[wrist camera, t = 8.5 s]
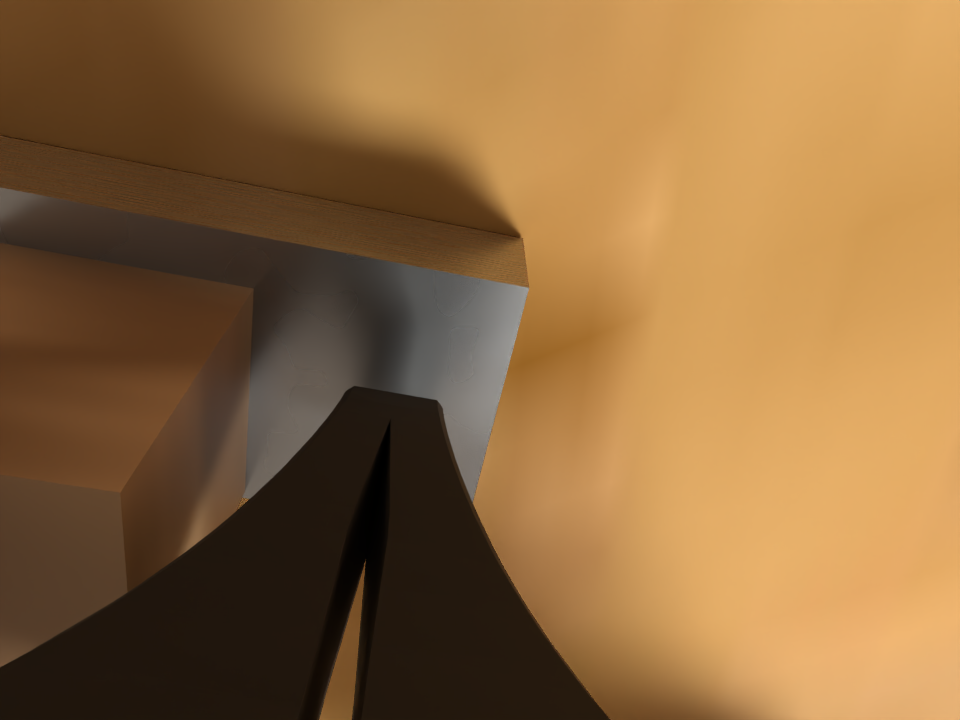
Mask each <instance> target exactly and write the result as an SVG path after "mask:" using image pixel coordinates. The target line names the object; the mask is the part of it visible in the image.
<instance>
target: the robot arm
mask: <svg viewBox="0 0 960 720" xmlns="http://www.w3.org/2000/svg"><path fill="white" fill-rule="evenodd" d="M365 560H366V565H365V576H364V588H363V600H362V612H361V624H360V636H359V648H358V660H357V672H356V684H355V696H354V706H353V714H352V720H610V719H609V718H608V716H607V715H606V714H605V713H604V712H603V710H602V709H601V708H600V707H599V706H598V705H597V703H596V702H595V701H594V699H593V698H592V697H591V695H590V694H589V693H588V691H587V690H586V689H585V687H584V686H583V685H582V683H581V682H580V681H579V679H578V678H577V677H576V675H575V674H574V673H573V671H572V670H571V669H570V667H569V666H568V665H567V663H566V662H565V661H564V659H563V658H562V657H561V655H560V654H559V653H558V651H557V650H556V649H555V647H554V646H553V645H552V643H551V642H550V641H549V639H548V638H547V636H546V635H545V633H544V632H543V630H542V629H541V627H540V626H539V624H538V623H537V621H536V620H535V618H534V617H533V615H532V613H531V612H530V610H529V609H528V607H527V606H526V604H525V603H524V601H523V599H522V598H521V596H520V594H519V593H518V591H517V589H516V588H515V586H514V584H513V583H512V581H511V579H510V577H509V576H508V574H507V572H506V570H505V569H504V567H503V565H502V563H501V561H500V559H499V557H498V555H497V554H496V552H495V550H494V548H493V546H492V544H491V542H490V540H489V538H488V536H487V534H486V531H485V529H484V527H483V525H482V523H481V521H480V519H479V517H478V514H477V512H476V510H475V508H474V505H473V503H472V500H471V498H470V495H469V493H468V490H467V488H466V485H465V483H464V480H463V478H462V475H461V473H460V470H459V467H458V464H457V462H456V459H455V456H454V452H453V449H452V446H451V443H450V439H449V436H448V432H447V428H446V424H445V419H444V413H443V408H442V406H441V405H440V403H439V402H438V401H437V400H434V399H428V398H422V397H416V396H411V395H405V394H399V393H394V392H388V391H382V390H376V389H371V388H365V387H359V386H353V387H351V388H350V389H348V390H346V391H345V393H344V395H343V396H342V398H341V400H340V401H339V402H338V404H337V405H336V407H335V408H334V409H333V411H332V412H331V413H330V415H329V416H328V417H327V419H326V420H325V421H324V422H323V423H322V425H321V426H320V427H319V428H318V429H317V431H316V432H315V433H314V434H313V435H312V437H311V438H310V439H309V440H308V441H307V442H306V443H305V444H304V445H303V446H302V447H301V449H300V450H299V451H298V452H297V453H296V454H295V455H294V456H293V457H292V458H291V459H290V460H289V462H288V463H287V464H286V465H285V466H284V467H283V468H282V469H281V470H280V471H279V472H278V473H277V474H276V475H275V476H274V477H273V478H272V479H270V480H269V481H268V482H267V483H266V484H265V485H264V486H263V487H262V488H261V489H260V490H259V491H258V492H257V493H256V494H255V495H253V496H252V497H251V498H250V499H249V500H248V501H247V502H246V503H245V504H244V505H243V506H242V507H240V508H239V509H238V510H237V511H236V512H235V513H233V514H232V515H231V516H230V517H229V518H228V519H226V520H225V521H224V522H223V523H222V524H220V525H219V526H218V527H217V528H216V529H214V530H213V531H212V532H211V533H209V534H208V535H207V536H205V537H204V538H203V539H202V540H200V541H199V542H198V543H196V544H195V545H194V546H193V547H191V548H190V549H189V550H187V551H186V552H185V553H183V554H182V555H181V556H179V557H178V558H176V559H175V560H174V561H172V562H171V563H169V564H168V565H166V566H165V567H164V568H162V569H161V570H159V571H158V572H157V573H155V574H154V575H152V576H151V577H149V578H148V579H147V580H145V581H144V582H142V583H141V584H139V585H138V586H136V587H135V588H133V589H132V590H130V591H129V592H127V593H126V594H124V595H123V596H121V597H120V598H118V599H116V600H115V601H113V602H112V603H110V604H109V605H107V606H105V607H104V608H102V609H100V610H99V611H97V612H95V613H93V614H92V615H90V616H88V617H87V618H85V619H83V620H82V621H80V622H78V623H77V624H75V625H73V626H71V627H70V628H68V629H66V630H65V631H63V632H61V633H60V634H58V635H56V636H54V637H53V638H51V639H49V640H48V641H46V642H44V643H43V644H41V645H39V646H37V647H36V648H34V649H32V650H31V651H29V652H27V653H25V654H23V655H22V656H20V657H18V658H16V659H14V660H12V661H10V662H9V663H7V664H5V665H3V666H1V667H0V720H319V718H320V714H321V711H322V707H323V703H324V699H325V695H326V692H327V688H328V685H329V682H330V678H331V675H332V672H333V668H334V665H335V661H336V658H337V655H338V651H339V648H340V645H341V641H342V638H343V635H344V631H345V628H346V624H347V621H348V618H349V614H350V611H351V608H352V604H353V601H354V597H355V594H356V591H357V587H358V584H359V580H360V577H361V574H362V570H363V567H364V563H365Z"/></svg>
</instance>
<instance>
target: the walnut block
mask: <svg viewBox="0 0 960 720" xmlns="http://www.w3.org/2000/svg"><path fill="white" fill-rule="evenodd" d="M253 292H254V289H253V288H248V287H242V286H237V285H231V284H226V283H220V282H215V281H209V280H203V279H198V278H192V277H187V276H181V275H176V274H170V273H165V272H159V271H154V270H148V269H143V268H137V267H131V266H126V265H120V264H115V263H109V262H104V261H98V260H93V259H87V258H82V257H76V256H71V255H65V254H59V253H54V252H48V251H43V250H37V249H32V248H26V247H21V246H15V245H10V244H4V243H0V667H1V666H3V665H5V664H7V663H9V662H10V661H12V660H14V659H16V658H18V657H20V656H22V655H23V654H25V653H27V652H29V651H31V650H32V649H34V648H36V647H37V646H39V645H41V644H43V643H44V642H46V641H48V640H49V639H51V638H53V637H54V636H56V635H58V634H60V633H61V632H63V631H65V630H66V629H68V628H70V627H71V626H73V625H75V624H77V623H78V622H80V621H82V620H83V619H85V618H87V617H88V616H90V615H92V614H93V613H95V612H97V611H99V610H100V609H102V608H104V607H105V606H107V605H109V604H110V603H112V602H113V601H115V600H116V599H118V598H120V597H121V596H123V595H124V594H126V593H127V592H129V591H130V590H132V589H133V588H135V587H136V586H138V585H139V584H141V583H142V582H144V581H145V580H147V579H148V578H149V577H151V576H152V575H154V574H155V573H157V572H158V571H159V570H161V569H162V568H164V567H165V566H166V565H168V564H169V563H171V562H172V561H174V560H175V559H176V558H178V557H179V556H181V555H182V554H183V553H185V552H186V551H187V550H189V549H190V548H191V547H193V546H194V545H195V544H196V543H198V542H199V541H200V540H202V539H203V538H204V537H205V536H207V535H208V534H209V533H211V532H212V531H213V530H214V529H216V528H217V527H218V526H219V525H220V524H222V523H223V522H224V521H225V520H226V519H228V518H229V517H230V516H231V515H232V514H233V513H235V512H236V511H237V508H238V506H239V504H240V501H241V499H242V497H243V494H244V492H245V477H246V454H247V431H248V408H249V384H250V361H251V338H252V315H253Z"/></svg>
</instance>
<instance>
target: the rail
mask: <svg viewBox="0 0 960 720" xmlns="http://www.w3.org/2000/svg"><path fill="white" fill-rule="evenodd" d="M0 243H4V244H10V245H15V246H21V247H26V248H32V249H37V250H43V251H48V252H54V253H59V254H65V255H71V256H76V257H82V258H87V259H93V260H98V261H104V262H109V263H115V264H120V265H126V266H131V267H137V268H143V269H148V270H154V271H159V272H165V273H170V274H176V275H181V276H187V277H192V278H198V279H203V280H209V281H215V282H220V283H226V284H231V285H237V286H242V287H248V288H253V289H254V292H253V315H252V338H251V361H250V384H249V408H248V431H247V454H246V477H245V492H244V494H243V497H242V498H248V499H250V498H251V497H252V496H253V495H255V494H256V493H257V492H258V491H259V490H260V489H261V488H262V487H263V486H264V485H265V484H266V483H267V482H268V481H269V480H270V479H272V478H273V477H274V476H275V475H276V474H277V473H278V472H279V471H280V470H281V469H282V468H283V467H284V466H285V465H286V464H287V463H288V462H289V460H290V459H291V458H292V457H293V456H294V455H295V454H296V453H297V452H298V451H299V450H300V449H301V447H302V446H303V445H304V444H305V443H306V442H307V441H308V440H309V439H310V438H311V437H312V435H313V434H314V433H315V432H316V431H317V429H318V428H319V427H320V426H321V425H322V423H323V422H324V421H325V420H326V419H327V417H328V416H329V415H330V413H331V412H332V411H333V409H334V408H335V407H336V405H337V404H338V402H339V401H340V400H341V398H342V396H343V395H344V393H345V391H346V390H348V389H350V388H351V387H353V386H359V387H365V388H371V389H376V390H382V391H388V392H394V393H399V394H405V395H411V396H416V397H422V398H428V399H434V400H437V401H438V402H439V403H440V405H441V406H442V408H443V413H444V419H445V424H446V428H447V432H448V436H449V439H450V443H451V446H452V449H453V452H454V456H455V459H456V462H457V464H458V467H459V470H460V473H461V475H462V478H463V480H464V483H465V485H466V488H467V490H468V493H469V495H470V498H471V500H472V503H473V499H474V495H475V491H476V487H477V484H478V480H479V476H480V472H481V468H482V465H483V461H484V457H485V453H486V449H487V446H488V442H489V438H490V434H491V430H492V427H493V423H494V419H495V415H496V411H497V408H498V404H499V400H500V396H501V392H502V389H503V385H504V381H505V377H506V373H507V370H508V366H509V362H510V358H511V354H512V351H513V347H514V343H515V339H516V335H517V332H518V328H519V324H520V320H521V316H522V312H523V309H524V305H525V301H526V297H527V293H528V290H529V284H528V276H527V268H526V260H525V252H524V244H523V238H518V237H513V236H508V235H503V234H498V233H493V232H488V231H483V230H478V229H473V228H468V227H463V226H457V225H452V224H447V223H442V222H437V221H432V220H427V219H422V218H417V217H412V216H407V215H401V214H396V213H391V212H386V211H381V210H376V209H371V208H366V207H361V206H356V205H351V204H346V203H340V202H335V201H330V200H325V199H320V198H315V197H310V196H305V195H300V194H295V193H290V192H285V191H279V190H274V189H269V188H264V187H259V186H254V185H249V184H244V183H239V182H234V181H229V180H223V179H218V178H213V177H208V176H203V175H198V174H193V173H188V172H183V171H178V170H173V169H168V168H162V167H157V166H152V165H147V164H142V163H137V162H132V161H127V160H122V159H117V158H112V157H107V156H101V155H96V154H91V153H86V152H81V151H76V150H71V149H66V148H61V147H56V146H51V145H45V144H40V143H35V142H30V141H25V140H20V139H15V138H10V137H5V136H0Z"/></svg>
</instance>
